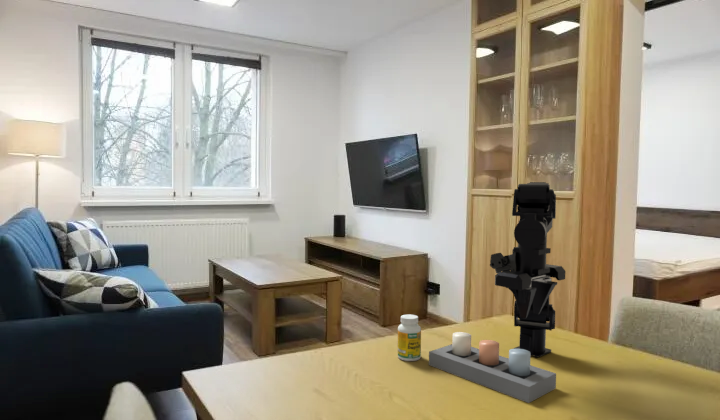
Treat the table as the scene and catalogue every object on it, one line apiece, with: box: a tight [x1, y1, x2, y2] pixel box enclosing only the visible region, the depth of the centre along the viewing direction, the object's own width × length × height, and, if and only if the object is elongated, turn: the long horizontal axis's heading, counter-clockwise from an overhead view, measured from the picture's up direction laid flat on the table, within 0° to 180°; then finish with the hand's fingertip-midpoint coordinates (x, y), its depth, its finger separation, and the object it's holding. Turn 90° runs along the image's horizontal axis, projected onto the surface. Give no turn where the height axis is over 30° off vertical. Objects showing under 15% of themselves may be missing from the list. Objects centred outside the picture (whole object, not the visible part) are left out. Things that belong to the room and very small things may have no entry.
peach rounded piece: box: [478, 339, 500, 365], centre depth 99 cm, size 4×4×4 cm
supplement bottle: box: [397, 313, 422, 362], centre depth 109 cm, size 5×5×10 cm
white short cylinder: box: [451, 331, 472, 356], centre depth 104 cm, size 4×4×4 cm
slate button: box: [508, 348, 531, 376], centre depth 93 cm, size 4×4×4 cm
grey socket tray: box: [428, 343, 557, 404], centre depth 99 cm, size 10×24×3 cm, turn 40°
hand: (530, 315), depth 101 cm, fingers open, 5 cm apart
